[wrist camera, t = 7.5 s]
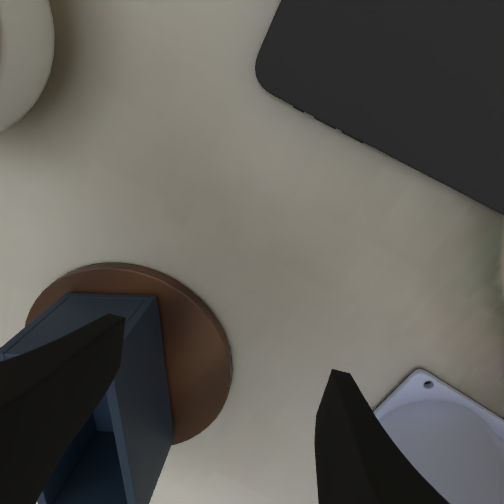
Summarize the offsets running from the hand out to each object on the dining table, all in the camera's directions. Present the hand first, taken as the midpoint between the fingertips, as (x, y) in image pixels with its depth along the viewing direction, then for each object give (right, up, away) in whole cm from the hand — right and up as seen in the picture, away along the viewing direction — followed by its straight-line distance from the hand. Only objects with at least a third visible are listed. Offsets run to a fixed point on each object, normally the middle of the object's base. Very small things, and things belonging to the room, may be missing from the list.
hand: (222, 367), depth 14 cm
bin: (-7, -4, +11) cm, 14 cm away
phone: (+9, +12, +5) cm, 15 cm away
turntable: (-7, -3, +12) cm, 14 cm away
